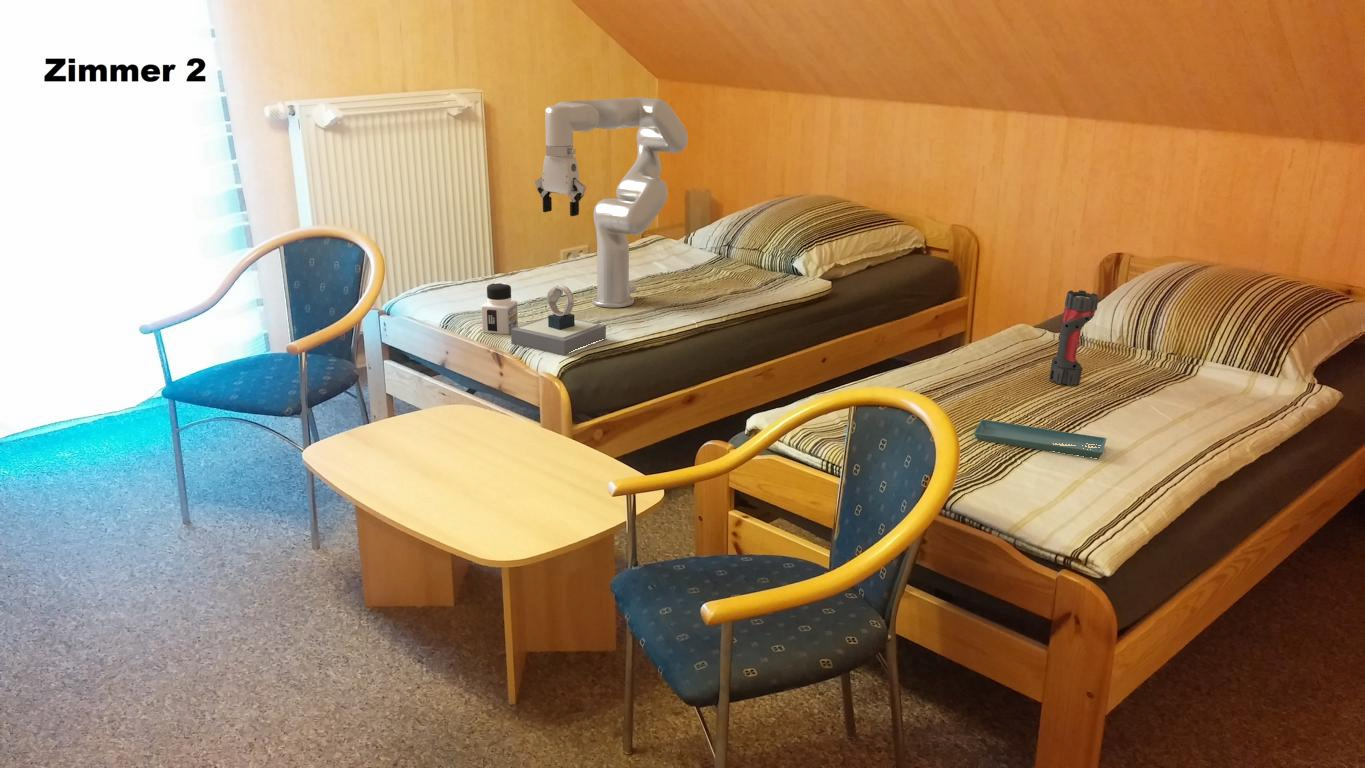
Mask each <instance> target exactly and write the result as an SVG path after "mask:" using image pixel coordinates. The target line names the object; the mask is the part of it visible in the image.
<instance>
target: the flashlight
mask: <svg viewBox="0 0 1365 768" xmlns="http://www.w3.org/2000/svg"><path fill="white" fill-rule="evenodd" d="M1064 302H1065V303H1064V309H1063V314H1062V323H1061V328H1060V335H1059V339H1058V340H1059V342H1058V346H1057V347H1058V348H1057V352H1056V356H1055V357H1053V358H1052V360H1051V365H1050V372H1049V379H1048V380H1049V382H1053V383H1055V384H1056V385H1060V386H1061V385H1062V384H1063V385H1066V386H1067V387H1072V386H1073V385H1077V386H1079V385H1080V383H1081V379H1082V378H1081V377H1082V372H1083V369H1084V368H1083V367H1082V365H1081V364H1080V363H1079V362H1078V361H1077V351H1078V348H1079V343H1080V339H1081V338H1080V336H1081V331H1082V329H1083V327H1084V326H1085V325H1086V324H1087V323H1088V322H1090V321H1092V320H1093V317H1095V313H1096V311H1097V310H1098V302H1099V297H1098V294H1097V293H1095V292H1093V293H1088V292H1087V291H1086V290H1081V289H1080V290H1078V291H1074V290H1069V291H1067V294H1066V298H1065V301H1064Z"/></svg>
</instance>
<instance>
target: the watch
mask: <svg viewBox="0 0 1365 768" xmlns="http://www.w3.org/2000/svg"><path fill="white" fill-rule="evenodd" d="M563 294H564V295H565V297H566V300H567V302H566V304H565V307H564V310H563V311H561V310H560V309H559V308H558V306H557V303H558V301H559V300H560V298H561V297H562V296H563ZM545 299H546V301H547V305H548V307H549V308H550V311H551V312H552V314H548V315H547V317H548V327H551V328H554V329H558V330H562V329H565V328H569V327H573V326H575V320H574V319H575V314H573V313H571V312H572V311H573V308H574V304H575V302H574V300H575V299H574V295H573V292H572V291H571V289H570V288H569V287H568V286H566V285H556V286H553V287H551V288H550V289H549V290H548V292H547V293H546V295H545Z"/></svg>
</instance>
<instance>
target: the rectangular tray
mask: <svg viewBox="0 0 1365 768" xmlns="http://www.w3.org/2000/svg"><path fill="white" fill-rule="evenodd" d="M973 434H974V436H975V438H976V440H978V441H985V442H990V443H996V444H1003V445H1007V444H1008V446H1013V445H1014V447H1019V446H1020V448H1025V447H1026V449H1032V450H1038V451H1043V450H1044V451H1045V452H1049V451H1055V452H1060V453H1059V454H1061V453H1065V454H1064V455H1067V454H1073V455H1079V456H1084V457H1083V458H1085V457H1092V458H1097V459H1096V460H1099V458H1100V457H1101V456H1102V454H1103V453H1104V452H1105V451H1104V450H1105V445H1106V442H1107V438H1106V437H1102V436H1094V435H1090V434H1089V435H1087V434H1082V433H1075V432H1068V431H1060V430H1054V429H1048V428H1041V427H1035V426H1028V425H1022V424H1016V423H1010V422H1002V421H996V420H991V419H990V420H989V419H980V421H979V423H978V425H977V427H976V428H975V430H974V431H973ZM1050 443H1051V444H1050ZM1052 443H1054V444H1055V443H1057V444H1059V443H1060V444H1062V443H1063V444H1064V445H1065V444H1067V445H1068V444H1070V445H1071V444H1072V445H1076V446H1060V445H1053V444H1052ZM1086 443H1088V444H1095V445H1089V446H1090V447H1091V446H1093V447H1095V446H1096V447H1097V448H1088V444H1086ZM1096 444H1097V445H1096ZM1082 445H1083V446H1082ZM1085 445H1086V446H1087V447H1085ZM1098 445H1101V446H1098ZM1098 447H1100V448H1098ZM1083 448H1084V449H1083ZM1087 449H1088V450H1087ZM1090 449H1091V450H1090ZM1055 452H1054V453H1055ZM1073 455H1072V456H1073ZM1079 456H1078V457H1079Z"/></svg>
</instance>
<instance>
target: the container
mask: <svg viewBox="0 0 1365 768" xmlns="http://www.w3.org/2000/svg"><path fill="white" fill-rule="evenodd" d="M511 287H512V286H511V285H510V284H508V283H505V282H494V283H490V284H488V285H487V287H486V301H487V302H485V303H483V304H481V325H482V326H481V327H482V333H484V334H485V333H487V334H497V335H511V329H513V328H516V327H519V321H518V320H519V319H518V317H519V315H518V313H519V312H518V301H517V300H514V299H513V300H512V288H511Z"/></svg>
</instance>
